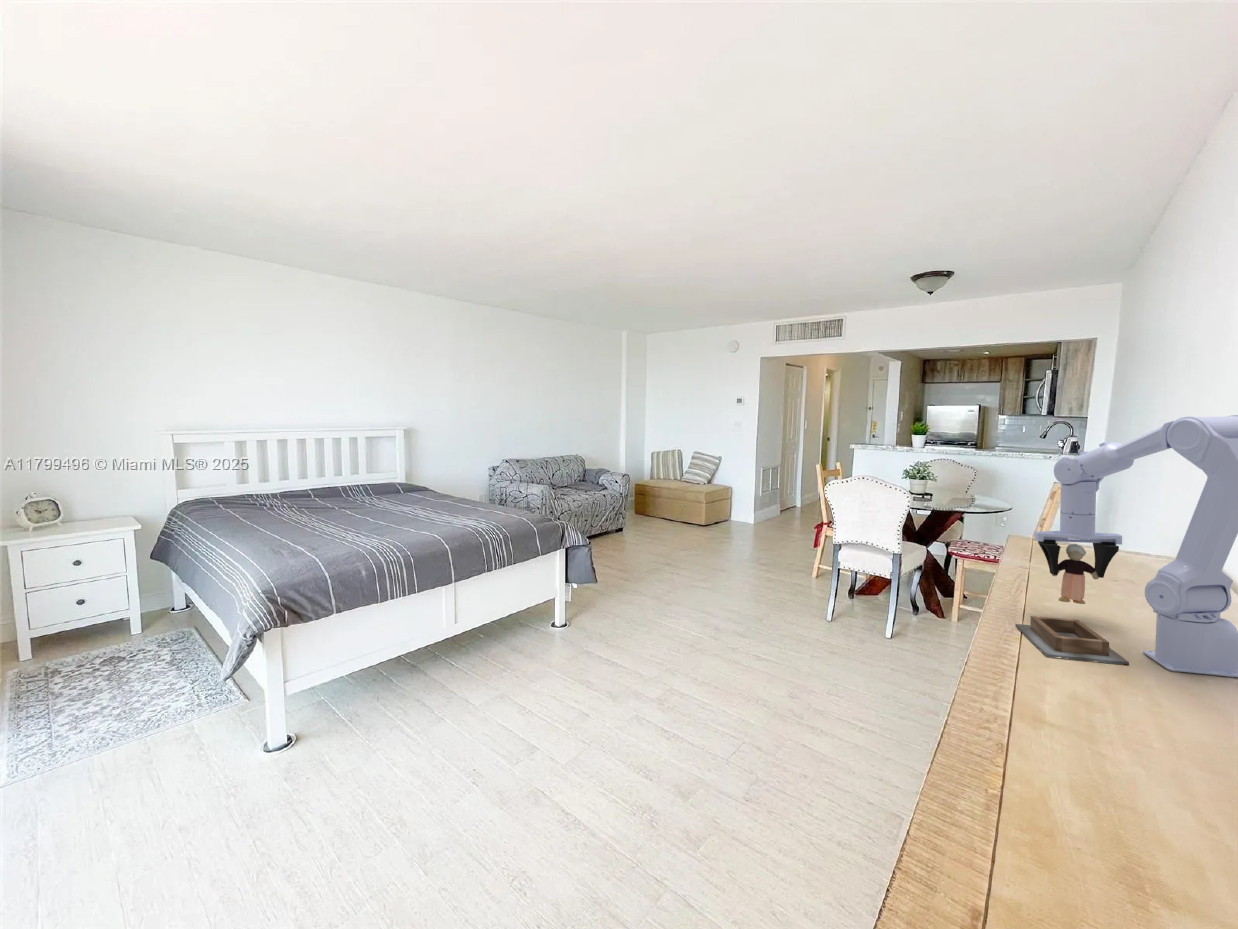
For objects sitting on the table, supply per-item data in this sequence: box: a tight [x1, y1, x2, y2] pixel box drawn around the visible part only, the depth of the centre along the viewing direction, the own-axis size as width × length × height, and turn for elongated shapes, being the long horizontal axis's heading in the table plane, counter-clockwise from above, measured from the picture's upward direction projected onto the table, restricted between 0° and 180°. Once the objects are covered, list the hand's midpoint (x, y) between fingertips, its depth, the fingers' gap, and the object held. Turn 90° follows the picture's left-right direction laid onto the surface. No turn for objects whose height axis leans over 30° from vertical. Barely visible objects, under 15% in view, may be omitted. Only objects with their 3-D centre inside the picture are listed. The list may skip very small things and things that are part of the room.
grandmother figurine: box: [1051, 543, 1100, 605], centre depth 113 cm, size 8×4×13 cm, turn 68°
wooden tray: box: [1014, 615, 1130, 666], centre depth 103 cm, size 12×16×3 cm
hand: (1076, 575), depth 113 cm, fingers closed on grandmother figurine, 7 cm apart
